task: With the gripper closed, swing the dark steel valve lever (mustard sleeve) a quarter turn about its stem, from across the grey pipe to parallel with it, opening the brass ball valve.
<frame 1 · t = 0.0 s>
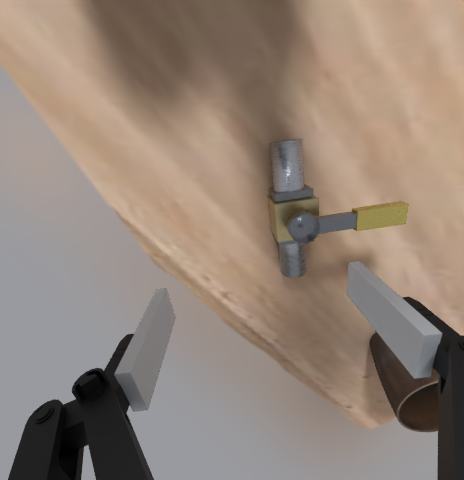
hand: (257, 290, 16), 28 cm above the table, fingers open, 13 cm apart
lever: (345, 221, 33), point 10 cm above the table, hinge at 0.0°
plant pot: (383, 338, 56), on the table
valve: (286, 209, 43), on the table
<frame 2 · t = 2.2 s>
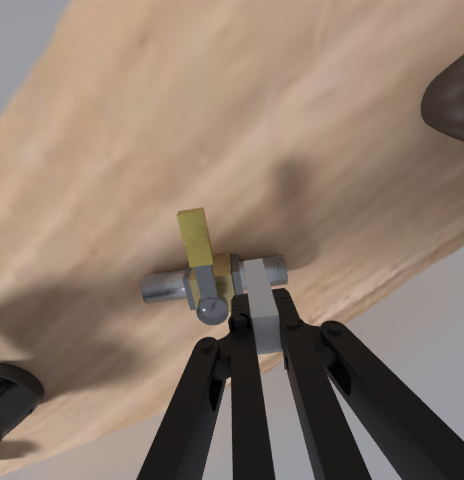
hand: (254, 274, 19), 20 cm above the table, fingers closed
lever: (204, 271, 30), point 10 cm above the table, hinge at 0.0°
plant pot: (445, 101, 32), on the table
valve: (215, 272, 42), on the table
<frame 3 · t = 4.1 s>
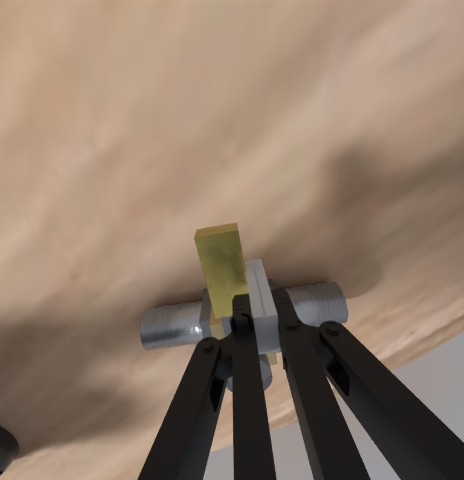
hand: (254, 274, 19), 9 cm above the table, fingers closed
lever: (236, 321, 19), point 10 cm above the table, hinge at 1.4°, touching gripper
valve: (240, 302, 31), on the table
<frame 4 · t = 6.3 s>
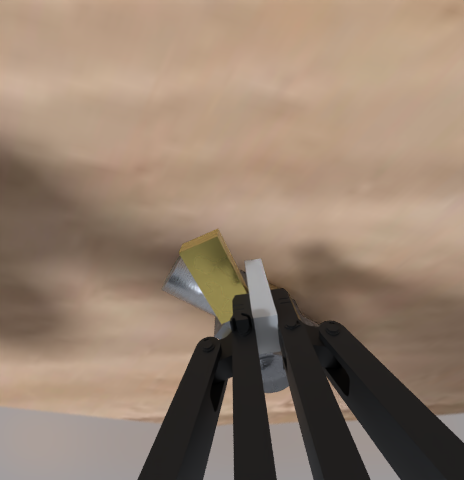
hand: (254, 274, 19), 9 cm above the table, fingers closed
lever: (244, 322, 19), point 10 cm above the table, hinge at 57.3°, touching gripper
valve: (255, 301, 31), on the table
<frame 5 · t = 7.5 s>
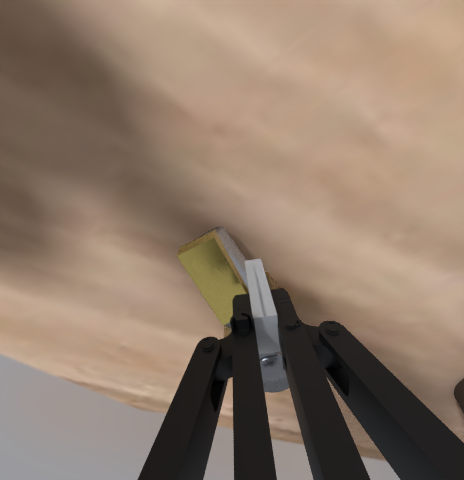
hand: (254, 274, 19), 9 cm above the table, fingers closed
lever: (245, 322, 19), point 10 cm above the table, hinge at 83.6°, touching gripper
valve: (257, 301, 31), on the table
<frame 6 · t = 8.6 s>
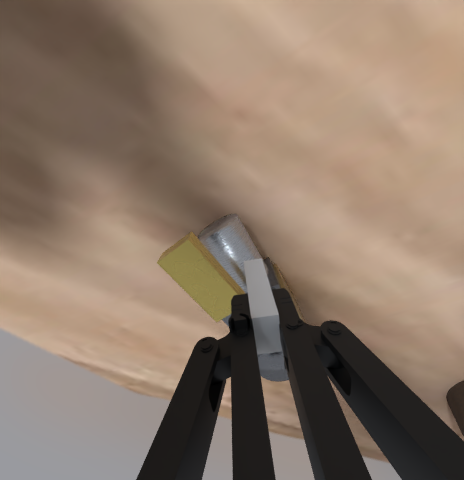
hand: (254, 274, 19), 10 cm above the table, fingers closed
lever: (240, 317, 19), point 10 cm above the table, hinge at 97.6°
valve: (262, 292, 31), on the table
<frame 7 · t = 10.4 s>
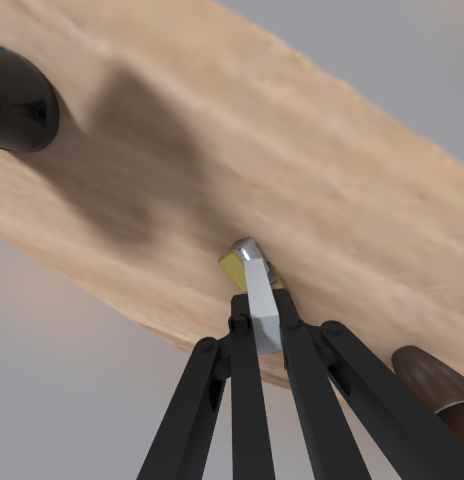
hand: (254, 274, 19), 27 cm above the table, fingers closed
lever: (254, 290, 39), point 10 cm above the table, hinge at 97.6°
plant pot: (404, 355, 59), on the table
valve: (266, 283, 51), on the table
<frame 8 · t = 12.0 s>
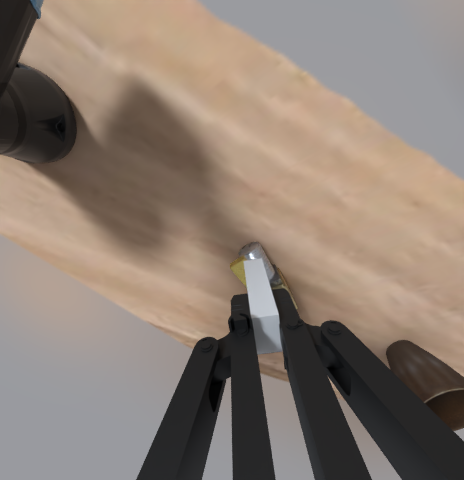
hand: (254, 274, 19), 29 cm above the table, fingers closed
lever: (262, 293, 42), point 10 cm above the table, hinge at 97.6°
plant pot: (398, 349, 63), on the table
valve: (270, 284, 54), on the table
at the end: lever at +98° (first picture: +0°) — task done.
